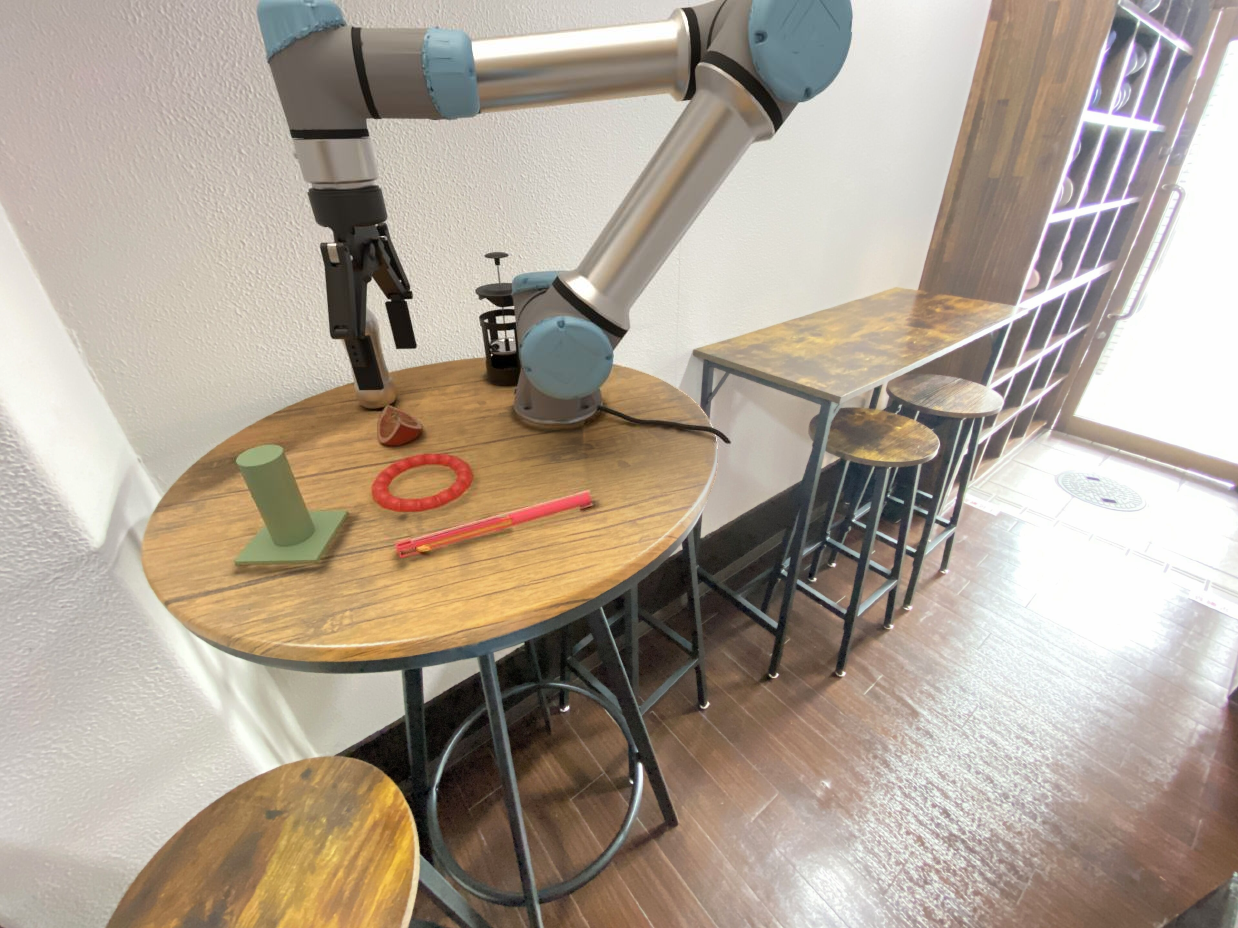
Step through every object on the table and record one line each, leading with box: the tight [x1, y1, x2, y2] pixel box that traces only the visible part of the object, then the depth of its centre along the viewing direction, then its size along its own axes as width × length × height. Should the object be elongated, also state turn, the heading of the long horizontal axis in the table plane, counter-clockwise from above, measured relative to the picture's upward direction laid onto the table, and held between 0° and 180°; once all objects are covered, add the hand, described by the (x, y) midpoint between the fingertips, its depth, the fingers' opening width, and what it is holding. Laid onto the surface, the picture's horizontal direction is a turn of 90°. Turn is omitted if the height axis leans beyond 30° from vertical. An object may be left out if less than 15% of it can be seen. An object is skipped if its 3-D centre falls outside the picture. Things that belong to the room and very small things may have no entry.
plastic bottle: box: [339, 306, 397, 409], centre depth 89 cm, size 6×7×20 cm
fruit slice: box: [376, 404, 424, 447], centre depth 83 cm, size 8×7×5 cm
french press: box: [474, 251, 521, 387], centre depth 99 cm, size 12×9×23 cm
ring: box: [371, 452, 474, 513], centre depth 73 cm, size 13×13×2 cm
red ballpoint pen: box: [395, 489, 593, 558], centre depth 65 cm, size 24×2×5 cm
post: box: [233, 444, 350, 566], centre depth 60 cm, size 9×9×12 cm
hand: (390, 367), depth 70 cm, fingers open, 13 cm apart
